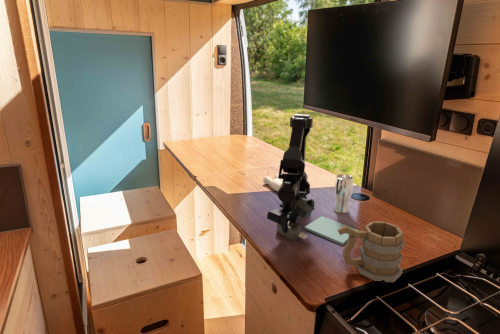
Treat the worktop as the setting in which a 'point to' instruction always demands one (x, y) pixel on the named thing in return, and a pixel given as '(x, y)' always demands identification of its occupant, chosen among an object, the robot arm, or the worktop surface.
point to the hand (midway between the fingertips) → (288, 230)
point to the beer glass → (343, 192)
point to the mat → (328, 230)
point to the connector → (292, 231)
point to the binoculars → (273, 182)
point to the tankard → (376, 250)
